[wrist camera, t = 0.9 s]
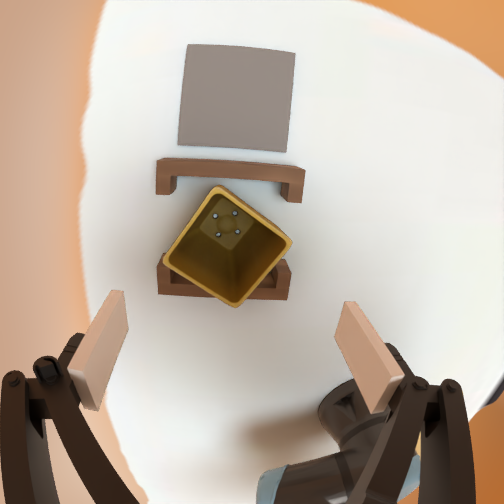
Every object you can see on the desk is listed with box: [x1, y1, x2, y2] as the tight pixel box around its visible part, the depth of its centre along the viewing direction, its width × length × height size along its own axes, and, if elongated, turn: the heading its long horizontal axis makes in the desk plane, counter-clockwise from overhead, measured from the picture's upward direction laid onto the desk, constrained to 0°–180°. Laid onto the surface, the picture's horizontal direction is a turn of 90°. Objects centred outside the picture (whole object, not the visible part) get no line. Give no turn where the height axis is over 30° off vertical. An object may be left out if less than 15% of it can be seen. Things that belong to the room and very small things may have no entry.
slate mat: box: [178, 44, 295, 152], centre depth 29 cm, size 12×12×1 cm
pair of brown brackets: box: [156, 158, 305, 300], centre depth 33 cm, size 15×15×4 cm
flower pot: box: [163, 185, 292, 308], centre depth 31 cm, size 9×9×9 cm
